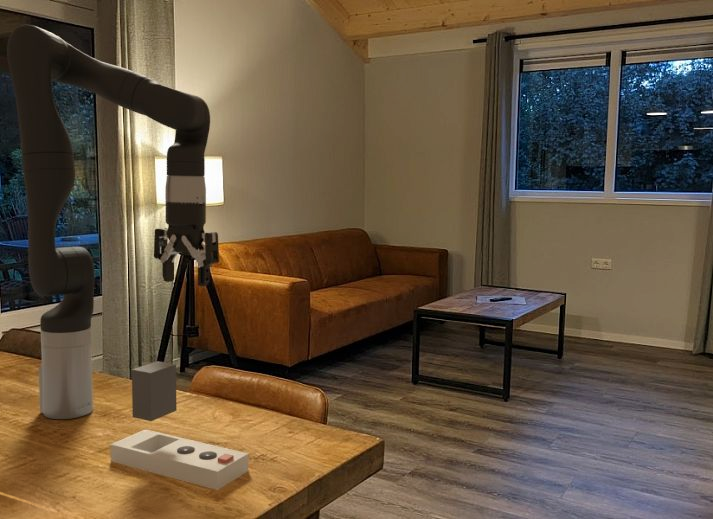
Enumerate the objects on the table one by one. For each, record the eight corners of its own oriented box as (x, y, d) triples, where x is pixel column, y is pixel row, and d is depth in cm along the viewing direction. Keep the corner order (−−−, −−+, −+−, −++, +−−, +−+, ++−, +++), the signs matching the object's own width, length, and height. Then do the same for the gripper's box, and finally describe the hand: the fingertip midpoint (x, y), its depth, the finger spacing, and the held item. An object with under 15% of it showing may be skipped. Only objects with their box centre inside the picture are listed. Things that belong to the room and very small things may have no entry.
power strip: (107, 460, 116) (106, 439, 115) (141, 444, 123) (141, 425, 122) (217, 490, 105) (217, 467, 105) (248, 471, 113) (248, 449, 112)
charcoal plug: (132, 417, 113) (131, 369, 112) (158, 406, 119) (157, 361, 118) (151, 421, 112) (150, 372, 111) (176, 410, 117) (176, 364, 116)
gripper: (143, 198, 132) (144, 282, 134) (201, 202, 126) (201, 290, 128) (171, 198, 139) (171, 277, 141) (227, 201, 133) (227, 284, 134)
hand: (185, 283), depth 134 cm, fingers open, 8 cm apart
